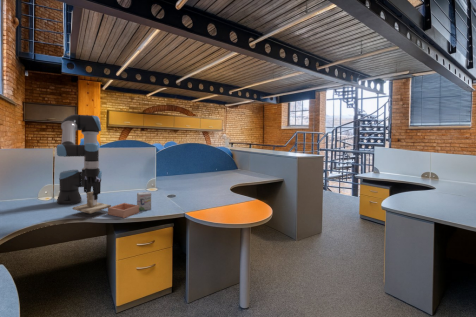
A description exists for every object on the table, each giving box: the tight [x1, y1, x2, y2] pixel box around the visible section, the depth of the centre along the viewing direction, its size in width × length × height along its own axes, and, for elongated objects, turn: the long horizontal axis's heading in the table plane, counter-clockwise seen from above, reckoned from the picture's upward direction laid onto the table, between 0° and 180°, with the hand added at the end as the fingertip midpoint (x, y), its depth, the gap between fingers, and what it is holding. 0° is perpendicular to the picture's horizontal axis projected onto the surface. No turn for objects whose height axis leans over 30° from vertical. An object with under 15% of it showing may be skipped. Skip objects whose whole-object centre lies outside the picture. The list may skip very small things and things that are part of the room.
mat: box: [72, 209, 108, 220], centre depth 162 cm, size 16×16×1 cm
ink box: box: [136, 191, 152, 211], centre depth 176 cm, size 9×5×12 cm, turn 126°
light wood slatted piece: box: [72, 190, 112, 213], centre depth 161 cm, size 15×15×10 cm
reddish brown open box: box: [107, 202, 140, 219], centre depth 165 cm, size 13×13×5 cm
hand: (92, 204), depth 162 cm, fingers closed on light wood slatted piece, 4 cm apart
